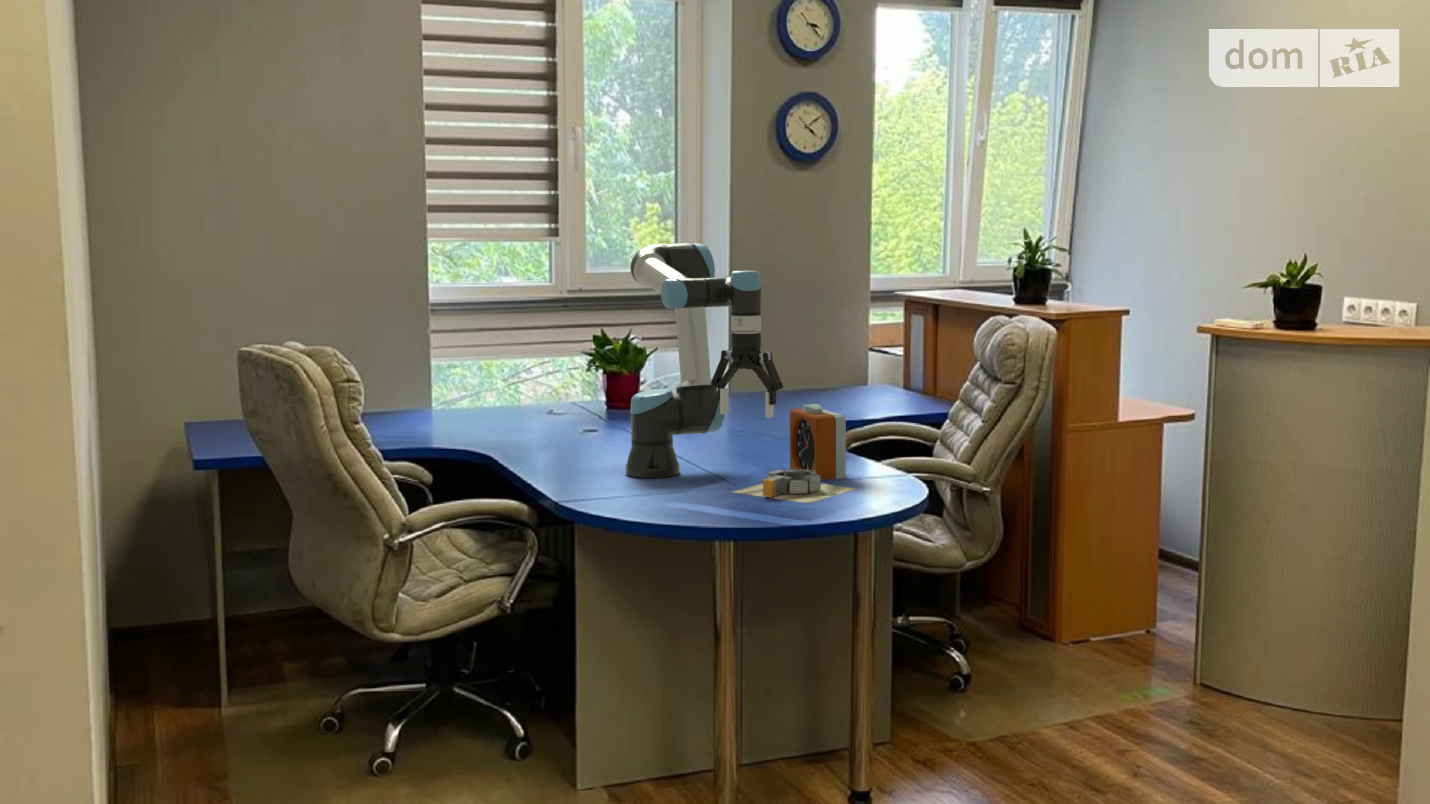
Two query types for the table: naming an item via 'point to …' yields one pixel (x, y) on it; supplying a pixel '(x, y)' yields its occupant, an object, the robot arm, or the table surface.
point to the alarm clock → (818, 441)
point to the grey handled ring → (790, 483)
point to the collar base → (799, 497)
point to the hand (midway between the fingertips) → (746, 415)
